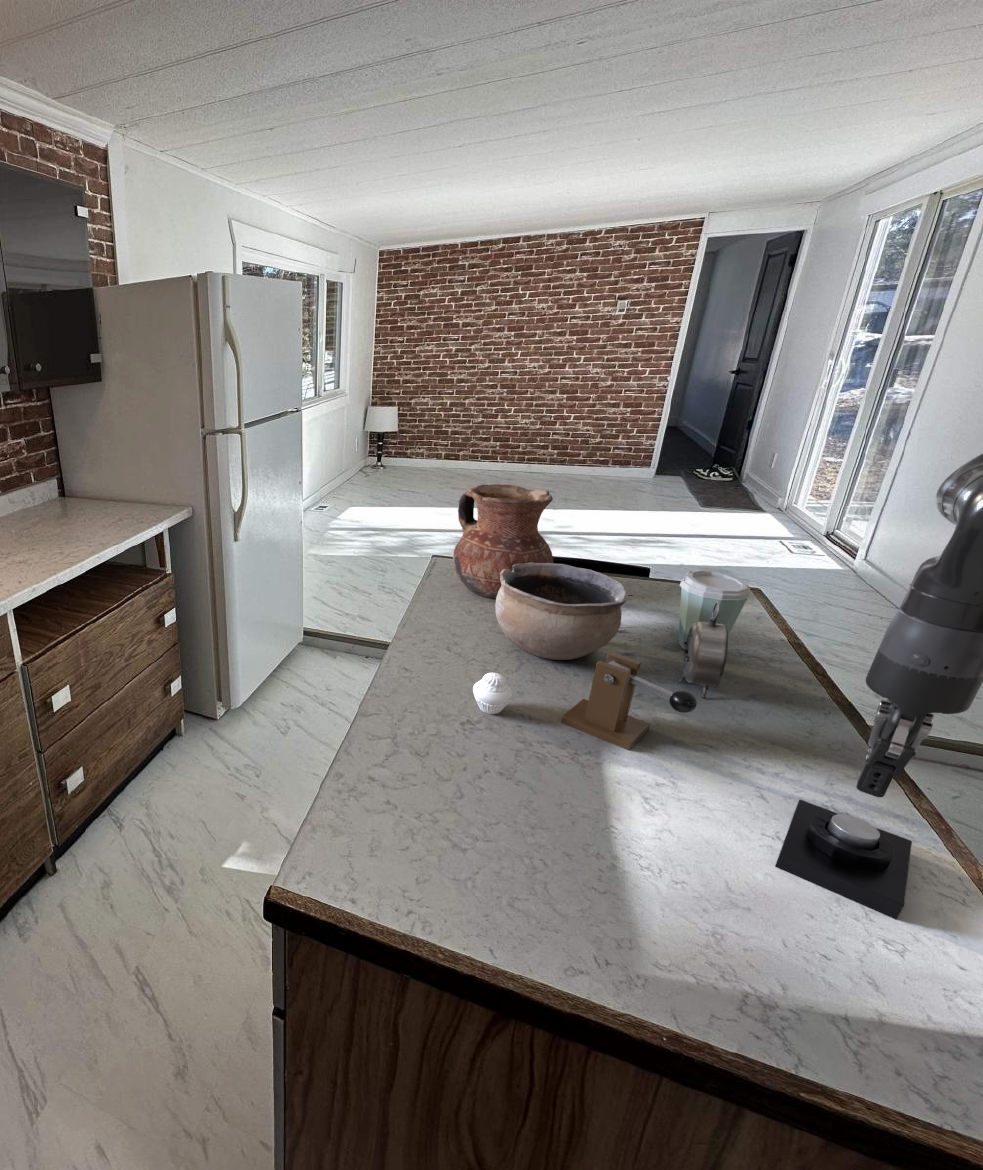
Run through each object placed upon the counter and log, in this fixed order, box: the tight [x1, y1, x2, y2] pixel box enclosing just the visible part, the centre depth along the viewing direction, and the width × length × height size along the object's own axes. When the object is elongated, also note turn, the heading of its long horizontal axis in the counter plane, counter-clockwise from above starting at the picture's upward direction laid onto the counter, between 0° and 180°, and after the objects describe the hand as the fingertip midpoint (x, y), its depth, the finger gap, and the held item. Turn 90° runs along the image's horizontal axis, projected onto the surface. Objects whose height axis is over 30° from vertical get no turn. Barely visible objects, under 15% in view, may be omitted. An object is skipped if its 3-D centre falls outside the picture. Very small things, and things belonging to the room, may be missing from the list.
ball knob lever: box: [608, 660, 698, 714], centre depth 94 cm, size 12×3×3 cm, turn 38°
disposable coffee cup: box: [678, 568, 751, 650], centre depth 120 cm, size 11×11×15 cm
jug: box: [452, 483, 554, 599], centre depth 149 cm, size 22×21×25 cm
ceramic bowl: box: [494, 562, 630, 661], centre depth 122 cm, size 22×22×15 cm
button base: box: [774, 799, 913, 920], centre depth 74 cm, size 13×10×4 cm
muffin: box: [472, 672, 513, 715], centre depth 105 cm, size 6×6×7 cm
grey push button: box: [827, 813, 880, 850], centre depth 73 cm, size 4×4×2 cm
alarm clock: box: [678, 602, 729, 699], centre depth 107 cm, size 11×5×16 cm, turn 147°
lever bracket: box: [560, 652, 651, 751], centre depth 98 cm, size 10×8×12 cm
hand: (869, 790), depth 70 cm, fingers closed
